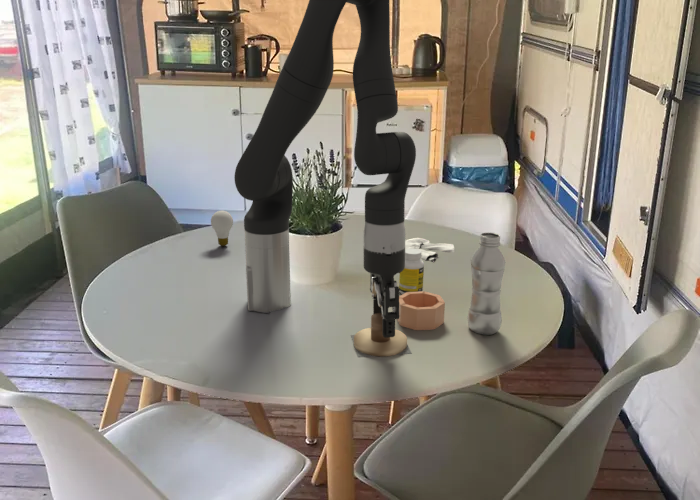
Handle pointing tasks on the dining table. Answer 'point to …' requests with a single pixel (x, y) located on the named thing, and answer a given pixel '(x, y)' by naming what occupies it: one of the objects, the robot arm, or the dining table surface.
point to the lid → (379, 340)
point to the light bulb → (222, 226)
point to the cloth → (425, 244)
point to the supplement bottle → (412, 272)
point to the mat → (360, 354)
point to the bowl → (421, 310)
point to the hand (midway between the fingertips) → (383, 326)
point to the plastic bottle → (486, 285)
